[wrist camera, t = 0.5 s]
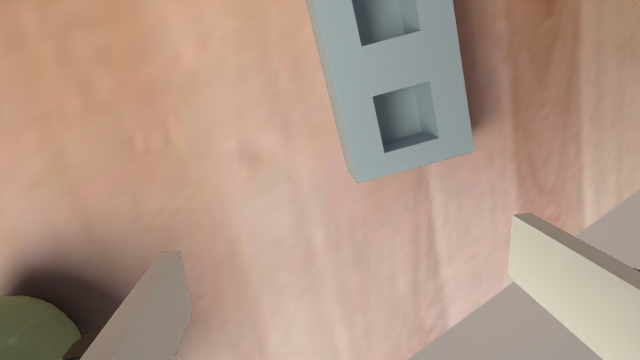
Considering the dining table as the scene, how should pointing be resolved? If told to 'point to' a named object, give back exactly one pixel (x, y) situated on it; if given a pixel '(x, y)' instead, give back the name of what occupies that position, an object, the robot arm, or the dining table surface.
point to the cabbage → (34, 329)
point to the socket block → (393, 82)
